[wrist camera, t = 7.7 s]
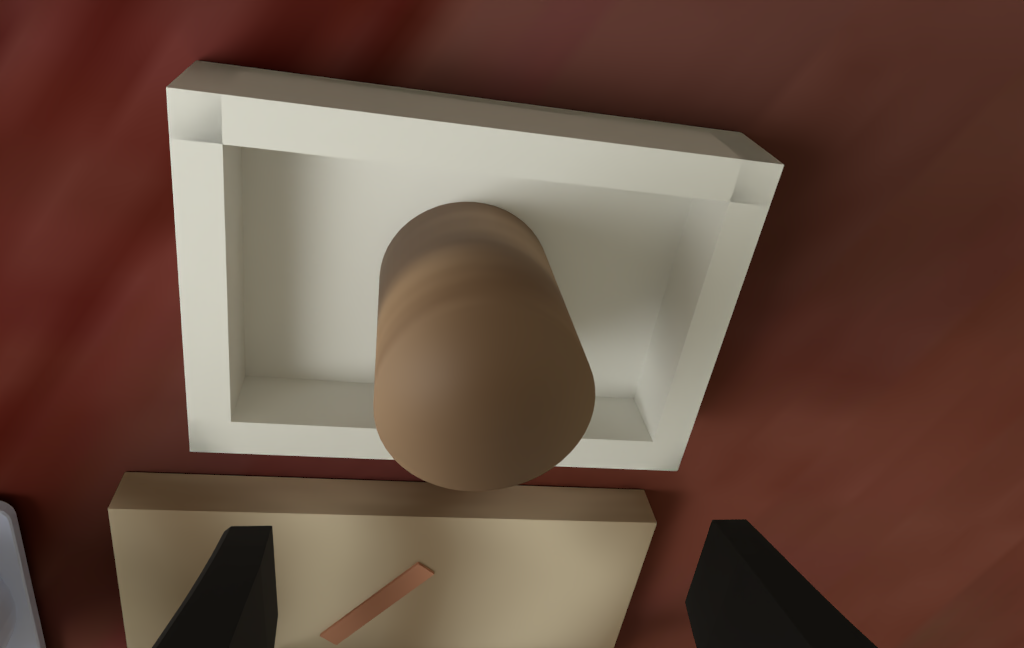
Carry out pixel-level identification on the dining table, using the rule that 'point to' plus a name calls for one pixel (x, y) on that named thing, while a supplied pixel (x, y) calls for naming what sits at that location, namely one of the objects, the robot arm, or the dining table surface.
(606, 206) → the tray
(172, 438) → the dining table surface
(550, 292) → the cylinder
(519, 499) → the crank board
